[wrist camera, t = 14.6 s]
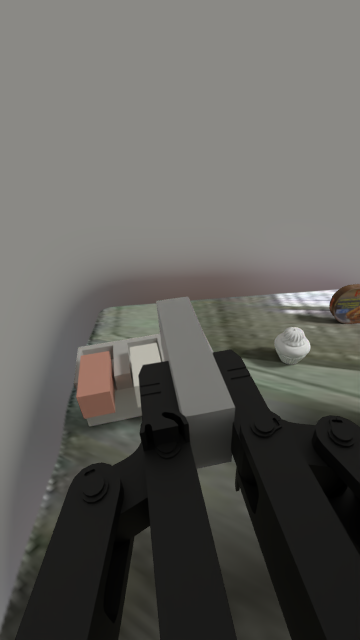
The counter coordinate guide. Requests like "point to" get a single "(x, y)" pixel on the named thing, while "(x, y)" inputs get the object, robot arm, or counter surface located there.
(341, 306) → the tin
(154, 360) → the ivory key
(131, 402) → the grey slotted rack
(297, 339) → the muffin
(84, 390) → the terracotta key
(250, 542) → the counter surface
